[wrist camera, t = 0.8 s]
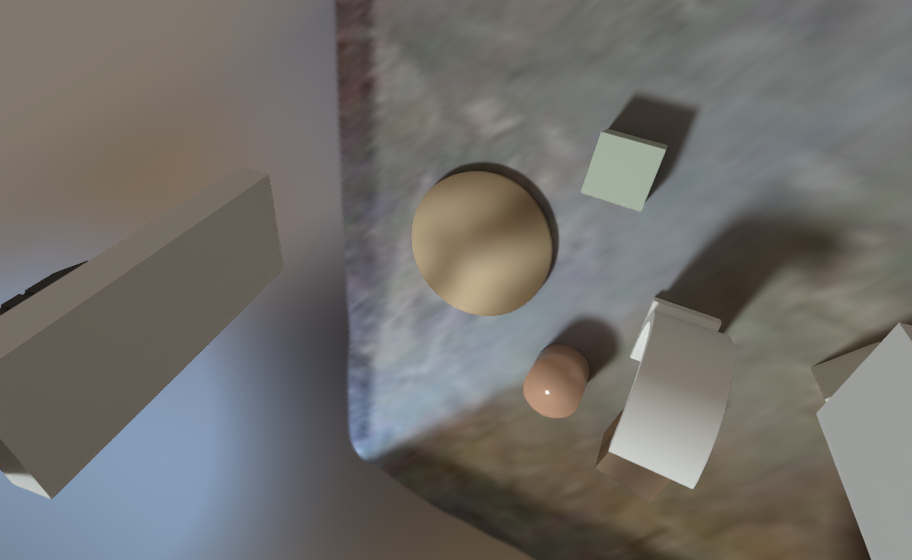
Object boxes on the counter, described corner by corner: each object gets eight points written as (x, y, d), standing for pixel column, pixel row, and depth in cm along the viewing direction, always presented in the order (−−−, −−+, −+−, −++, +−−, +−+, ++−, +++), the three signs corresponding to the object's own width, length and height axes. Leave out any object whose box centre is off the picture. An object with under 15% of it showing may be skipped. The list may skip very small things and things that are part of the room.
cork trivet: (585, 245, 36) (583, 248, 35) (489, 338, 42) (485, 342, 41) (470, 137, 37) (466, 138, 36) (392, 243, 43) (388, 246, 42)
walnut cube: (685, 428, 37) (685, 467, 34) (653, 463, 40) (649, 503, 36) (632, 396, 38) (626, 430, 34) (604, 432, 40) (595, 467, 37)
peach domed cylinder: (601, 372, 39) (592, 399, 35) (564, 399, 41) (552, 427, 38) (561, 334, 39) (548, 357, 36) (526, 363, 41) (512, 387, 38)
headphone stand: (630, 352, 37) (607, 450, 27) (659, 283, 34) (646, 364, 24) (692, 376, 36) (693, 489, 25) (728, 306, 33) (744, 402, 23)
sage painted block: (668, 145, 31) (666, 149, 29) (644, 202, 33) (640, 211, 31) (608, 128, 33) (601, 131, 30) (588, 185, 34) (580, 192, 32)
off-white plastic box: (925, 403, 30) (955, 443, 27) (854, 425, 32) (873, 464, 29) (878, 340, 30) (902, 372, 27) (810, 366, 32) (824, 399, 29)
